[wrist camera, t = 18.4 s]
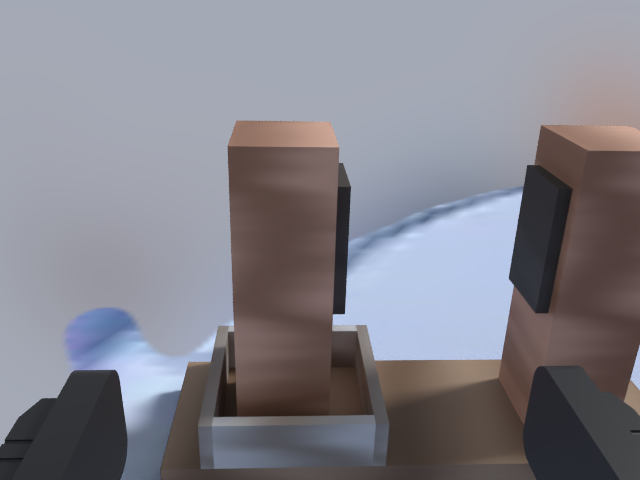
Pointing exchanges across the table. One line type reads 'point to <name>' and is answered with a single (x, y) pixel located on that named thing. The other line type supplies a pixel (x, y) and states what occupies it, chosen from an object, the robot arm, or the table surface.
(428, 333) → the table surface
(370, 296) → the table surface
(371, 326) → the table surface
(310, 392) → the tall copper pillar
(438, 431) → the gravestone
